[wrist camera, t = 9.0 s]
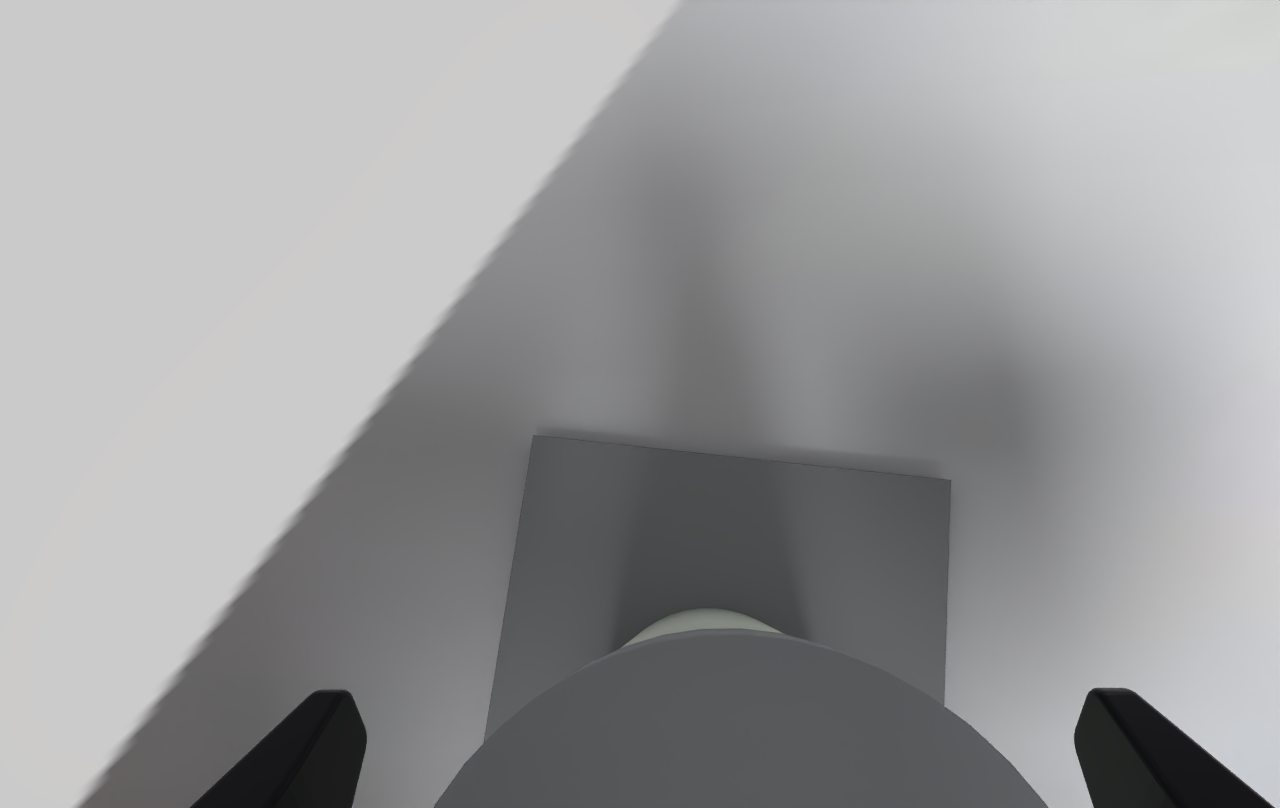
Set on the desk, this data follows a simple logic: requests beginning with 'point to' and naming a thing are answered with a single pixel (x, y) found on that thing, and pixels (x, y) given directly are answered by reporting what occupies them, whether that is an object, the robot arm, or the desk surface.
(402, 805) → the desk surface
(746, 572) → the charcoal pad
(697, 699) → the tin canister
